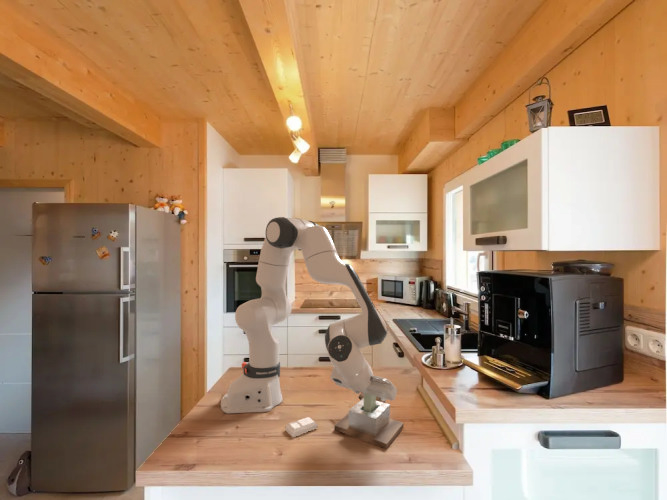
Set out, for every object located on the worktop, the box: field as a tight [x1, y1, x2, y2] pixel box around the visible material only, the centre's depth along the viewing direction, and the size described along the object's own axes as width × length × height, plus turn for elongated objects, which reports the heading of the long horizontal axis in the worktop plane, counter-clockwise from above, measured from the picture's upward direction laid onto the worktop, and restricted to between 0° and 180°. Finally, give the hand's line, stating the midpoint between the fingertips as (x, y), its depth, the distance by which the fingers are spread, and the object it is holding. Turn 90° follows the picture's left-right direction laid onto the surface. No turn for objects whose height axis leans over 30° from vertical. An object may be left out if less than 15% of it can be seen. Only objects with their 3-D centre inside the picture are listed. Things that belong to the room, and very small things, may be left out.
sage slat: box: [364, 393, 376, 413], centre depth 109 cm, size 2×4×12 cm, turn 148°
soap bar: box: [285, 416, 319, 438], centre depth 108 cm, size 5×9×3 cm, turn 125°
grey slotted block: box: [348, 398, 391, 437], centre depth 109 cm, size 9×11×6 cm
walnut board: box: [334, 412, 404, 450], centre depth 109 cm, size 18×14×2 cm
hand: (370, 394), depth 109 cm, fingers open, 8 cm apart
